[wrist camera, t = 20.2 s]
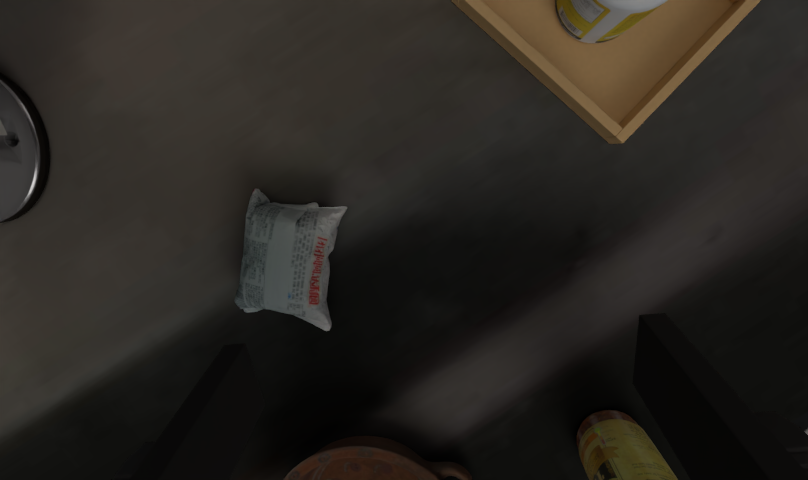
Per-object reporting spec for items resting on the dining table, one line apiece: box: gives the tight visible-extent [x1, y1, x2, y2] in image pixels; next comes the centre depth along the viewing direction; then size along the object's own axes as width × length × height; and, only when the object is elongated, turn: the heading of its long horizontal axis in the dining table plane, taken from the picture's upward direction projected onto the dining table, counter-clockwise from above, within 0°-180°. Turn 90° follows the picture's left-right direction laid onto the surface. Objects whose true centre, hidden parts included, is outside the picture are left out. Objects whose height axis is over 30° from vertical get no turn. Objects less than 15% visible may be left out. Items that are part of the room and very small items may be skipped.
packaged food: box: [235, 189, 348, 331], centre depth 38 cm, size 9×12×5 cm
